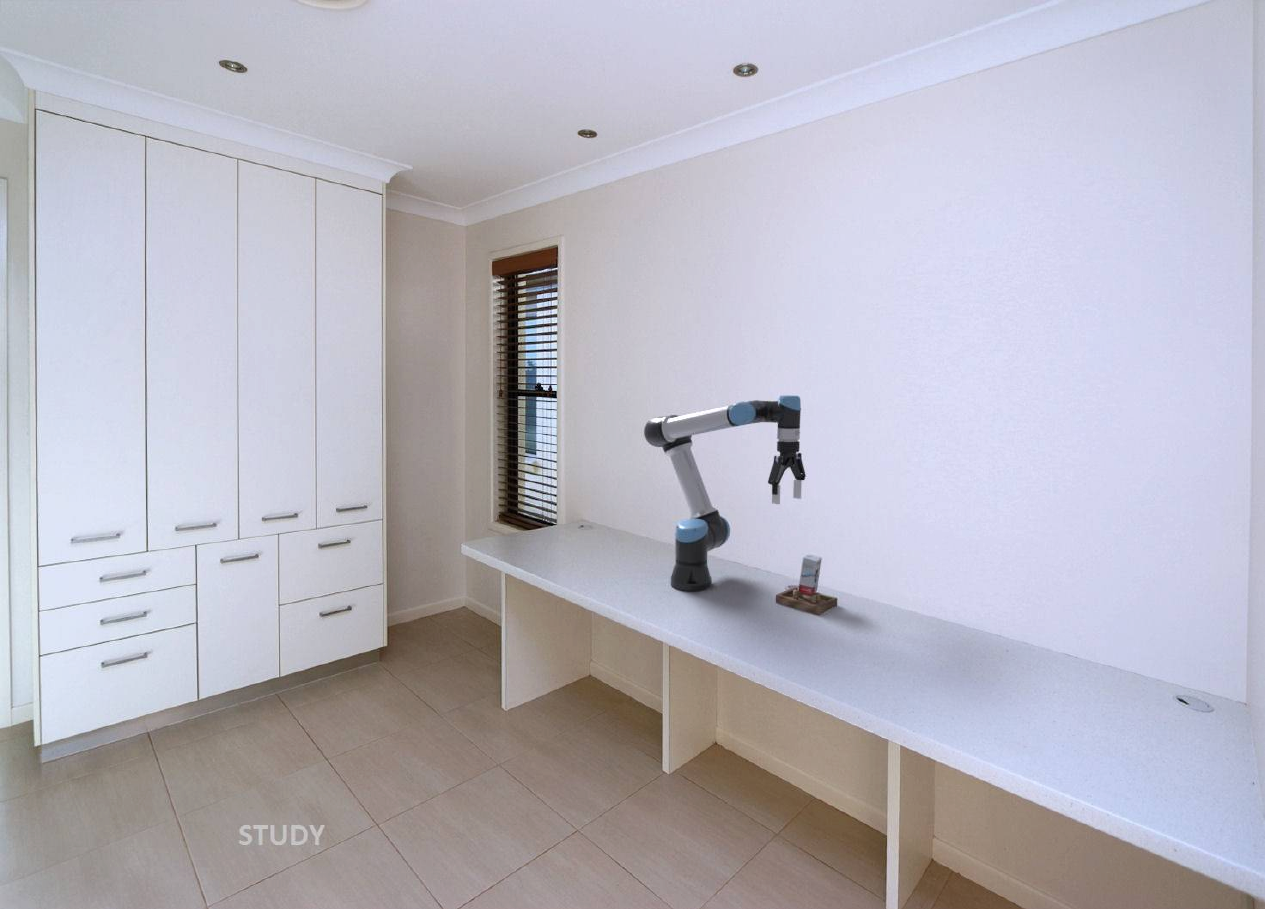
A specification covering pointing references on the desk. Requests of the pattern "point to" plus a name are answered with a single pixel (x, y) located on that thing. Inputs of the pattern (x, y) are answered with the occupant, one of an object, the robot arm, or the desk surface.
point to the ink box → (809, 574)
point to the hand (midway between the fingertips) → (786, 501)
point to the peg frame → (806, 601)
